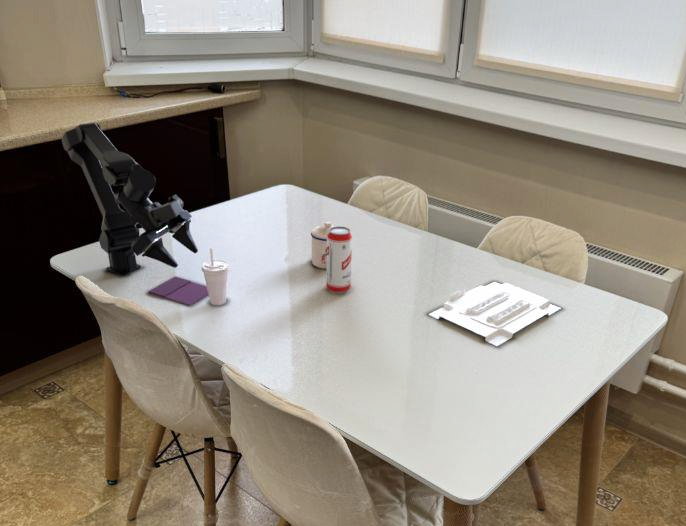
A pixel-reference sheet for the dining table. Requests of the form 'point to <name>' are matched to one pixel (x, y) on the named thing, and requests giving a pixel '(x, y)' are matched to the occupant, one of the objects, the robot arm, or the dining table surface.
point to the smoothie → (216, 279)
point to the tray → (495, 310)
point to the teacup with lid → (320, 245)
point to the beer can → (339, 259)
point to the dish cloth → (181, 291)
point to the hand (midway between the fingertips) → (186, 259)
